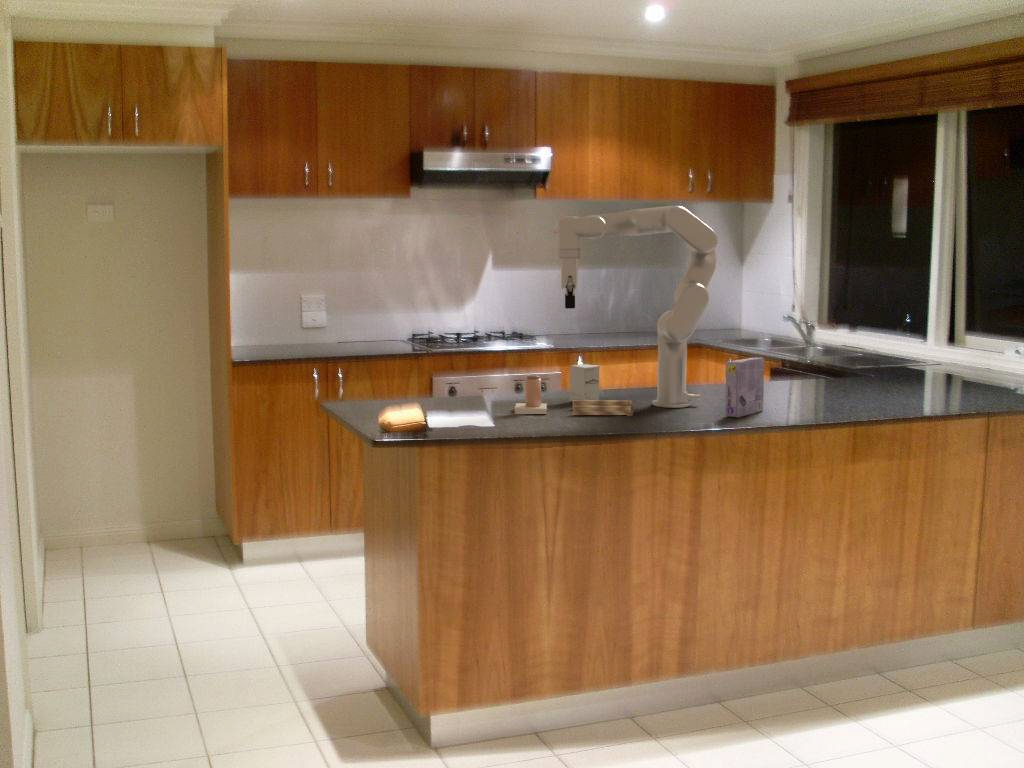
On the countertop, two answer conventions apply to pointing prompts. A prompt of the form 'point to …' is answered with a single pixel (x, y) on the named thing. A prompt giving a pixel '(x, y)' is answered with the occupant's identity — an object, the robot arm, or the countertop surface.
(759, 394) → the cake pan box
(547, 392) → the countertop surface
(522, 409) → the block
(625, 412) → the wooden tray
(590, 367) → the supplement box
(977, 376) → the countertop surface
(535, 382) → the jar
